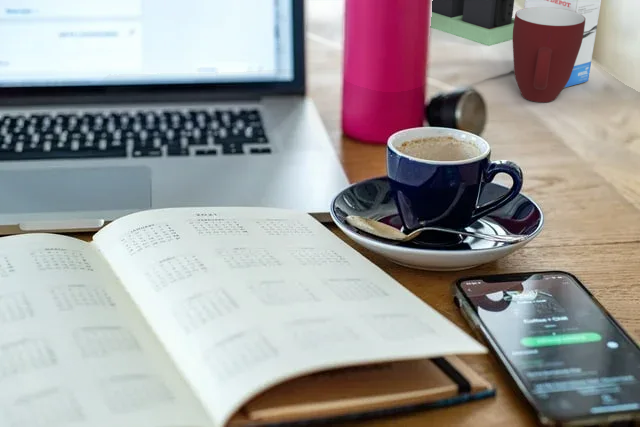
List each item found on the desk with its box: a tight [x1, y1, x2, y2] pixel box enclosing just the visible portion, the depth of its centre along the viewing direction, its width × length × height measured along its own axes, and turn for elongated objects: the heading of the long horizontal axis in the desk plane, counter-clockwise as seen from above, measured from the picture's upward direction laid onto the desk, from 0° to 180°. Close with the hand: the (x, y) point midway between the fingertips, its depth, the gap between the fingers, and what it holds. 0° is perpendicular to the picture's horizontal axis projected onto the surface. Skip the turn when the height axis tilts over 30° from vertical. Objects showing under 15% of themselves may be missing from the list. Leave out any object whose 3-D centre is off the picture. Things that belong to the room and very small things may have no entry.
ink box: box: [523, 0, 602, 89], centre depth 111 cm, size 8×5×12 cm, turn 34°
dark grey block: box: [462, 0, 512, 29], centre depth 127 cm, size 5×5×4 cm
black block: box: [432, 0, 464, 18], centre depth 132 cm, size 5×5×4 cm
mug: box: [512, 7, 585, 103], centre depth 104 cm, size 10×8×10 cm
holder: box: [430, 12, 515, 47], centre depth 131 cm, size 15×8×3 cm, turn 40°
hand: (487, 18), depth 127 cm, fingers closed on dark grey block, 4 cm apart
